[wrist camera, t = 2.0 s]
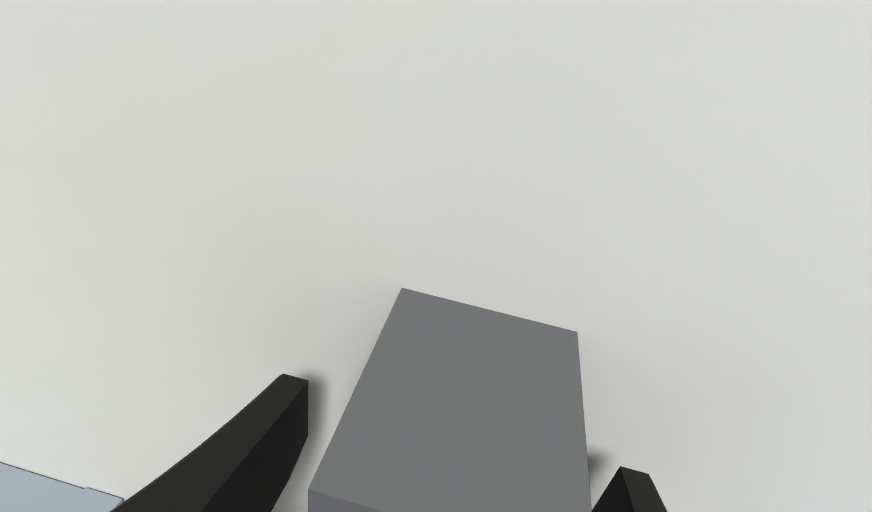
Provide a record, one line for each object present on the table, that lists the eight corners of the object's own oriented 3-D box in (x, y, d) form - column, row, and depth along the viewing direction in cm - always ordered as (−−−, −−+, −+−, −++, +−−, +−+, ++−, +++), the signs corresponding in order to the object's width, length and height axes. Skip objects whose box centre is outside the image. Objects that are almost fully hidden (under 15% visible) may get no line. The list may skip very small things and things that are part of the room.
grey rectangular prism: (576, 329, 10) (596, 576, 6) (511, 482, 13) (495, 711, 9) (402, 285, 11) (308, 489, 6) (379, 445, 14) (306, 649, 10)
